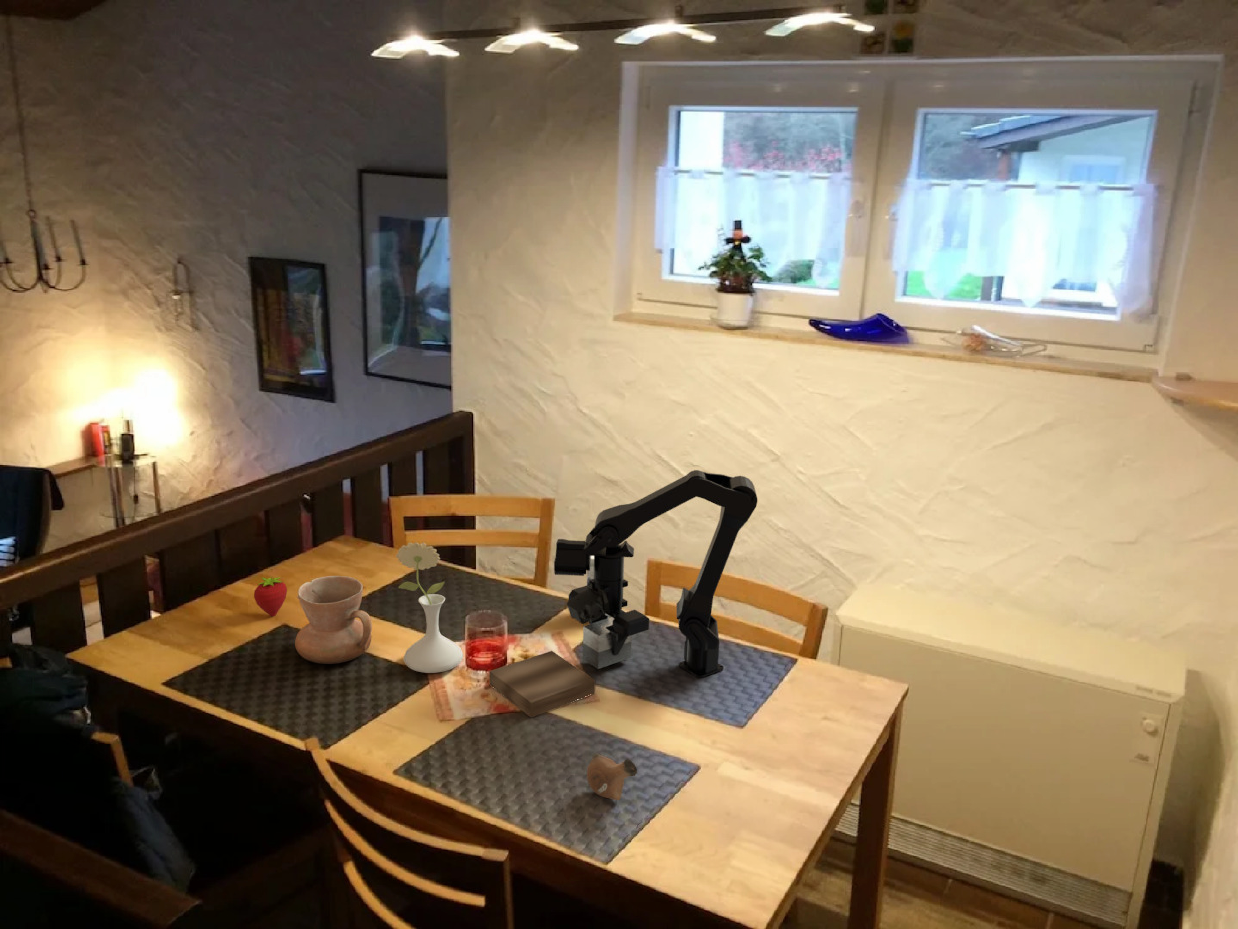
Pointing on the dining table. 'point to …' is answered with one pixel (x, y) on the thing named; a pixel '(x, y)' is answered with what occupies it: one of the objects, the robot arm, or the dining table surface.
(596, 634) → the housing
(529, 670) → the stand
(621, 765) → the oil lamp
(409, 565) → the flower in vase
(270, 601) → the strawberry
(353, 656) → the ceramic jug
